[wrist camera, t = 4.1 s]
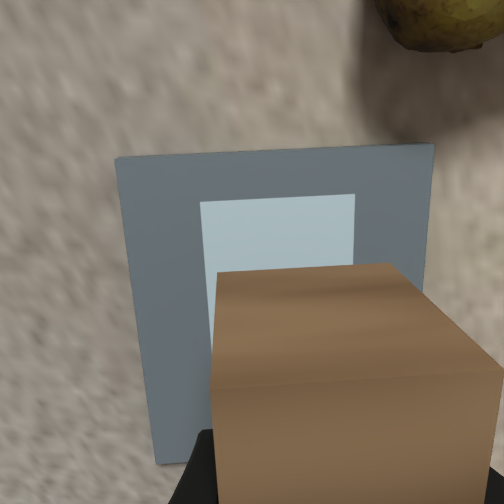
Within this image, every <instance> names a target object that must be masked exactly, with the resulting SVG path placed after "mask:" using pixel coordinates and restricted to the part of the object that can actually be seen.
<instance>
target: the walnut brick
mask: <svg viewBox="0 0 504 504" xmlns="http://www.w3.org/2000/svg"><path fill="white" fill-rule="evenodd" d="M503 379H504V369H503V368H502V367H501V366H500V365H499V364H498V363H497V362H496V361H495V360H494V359H493V358H492V357H491V356H489V355H488V354H487V353H486V352H485V351H484V350H483V349H482V348H481V347H480V346H479V345H478V344H477V343H475V342H474V341H473V340H472V339H471V338H470V337H469V336H468V335H467V334H466V333H465V332H464V331H463V330H462V329H460V328H459V327H458V326H457V325H456V324H455V323H454V322H453V321H452V320H451V319H450V318H449V317H448V316H446V315H445V314H444V313H443V312H442V311H441V310H440V309H439V308H438V307H437V306H436V305H435V304H434V303H433V302H431V301H430V300H429V299H428V298H427V297H426V296H425V295H424V294H423V293H422V292H421V291H420V290H419V289H417V288H416V287H415V286H414V285H413V284H412V283H411V282H410V281H409V280H408V279H407V278H406V277H405V276H403V275H402V274H401V273H400V272H399V271H398V270H397V269H396V268H395V267H394V266H393V265H392V264H391V263H373V264H355V265H337V266H320V267H302V268H284V269H266V270H249V271H231V272H217V282H216V297H215V313H214V329H213V345H212V361H211V376H210V400H211V412H212V424H213V436H214V449H215V461H216V473H217V486H218V498H219V504H484V499H485V493H486V486H487V480H488V474H489V467H490V461H491V455H492V448H493V442H494V436H495V429H496V423H497V417H498V410H499V404H500V398H501V391H502V385H503Z"/></svg>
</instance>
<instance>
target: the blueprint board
mask: <svg viewBox="0 0 504 504" xmlns="http://www.w3.org/2000/svg"><path fill="white" fill-rule="evenodd" d="M434 148H435V144H432V143H406V144H385V145H364V146H343V147H322V148H301V149H279V150H258V151H237V152H216V153H195V154H174V155H153V156H131V157H118V158H116V159H114V160H115V168H116V175H117V182H118V190H119V197H120V204H121V212H122V219H123V226H124V234H125V241H126V248H127V256H128V263H129V271H130V278H131V285H132V293H133V300H134V307H135V315H136V322H137V329H138V337H139V344H140V352H141V359H142V366H143V374H144V381H145V388H146V396H147V403H148V410H149V418H150V425H151V432H152V440H153V447H154V455H155V462H156V464H170V463H183V462H188V461H189V459H190V456H191V454H192V451H193V449H194V446H195V443H196V440H197V436H198V433H199V432H200V431H201V430H203V429H213V424H212V412H211V400H210V376H211V361H212V345H213V329H214V313H215V297H216V282H217V272H231V271H249V270H266V269H284V268H302V267H320V266H337V265H355V264H373V263H391V264H392V265H393V266H394V267H395V268H396V269H397V270H398V271H399V272H400V273H401V274H402V275H403V276H405V277H406V278H407V279H408V280H409V281H410V282H411V283H412V284H413V285H414V286H415V287H416V288H417V289H419V290H420V291H421V292H422V290H423V279H424V267H425V255H426V243H427V231H428V219H429V207H430V196H431V184H432V172H433V160H434Z"/></svg>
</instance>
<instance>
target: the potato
mask: <svg viewBox="0 0 504 504" xmlns="http://www.w3.org/2000/svg"><path fill="white" fill-rule="evenodd" d="M375 4H376V8H377V10H378V13H379V14H380V16H381V18H382V20H383V22H384V23H385V25H386V26H387V28H388V30H389V31H390V33H391V35H392V36H393V38H394V39H395V40H396V41H397V42H398V43H399V44H401V45H402V46H403V47H405V48H406V49H408V50H415V51H420V52H451V53H456V52H460V51H464V50H468V49H479V48H481V47H482V44H483V42H485V41H487V40H489V39H492V38H494V37H496V36H498V35H500V34H502V33H503V32H504V0H375Z"/></svg>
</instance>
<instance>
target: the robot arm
mask: <svg viewBox="0 0 504 504" xmlns="http://www.w3.org/2000/svg"><path fill="white" fill-rule="evenodd" d="M168 504H219V498H218V486H217V473H216V461H215V449H214V436H213V429H203V430H201V431H200V432H199V433H198V436H197V440H196V443H195V446H194V449H193V451H192V454H191V456H190V459H189V461H188V464H187V466H186V468H185V470H184V473H183V475H182V477H181V479H180V481H179V483H178V485H177V487H176V489H175V491H174V493H173V496H172V498H171V499H170V501H169V503H168ZM484 504H504V477H503V476H502V475H500V474H499V473H498V472H496V471H495V470H494V469H493V468H491V467H489V474H488V480H487V486H486V493H485V499H484Z"/></svg>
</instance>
